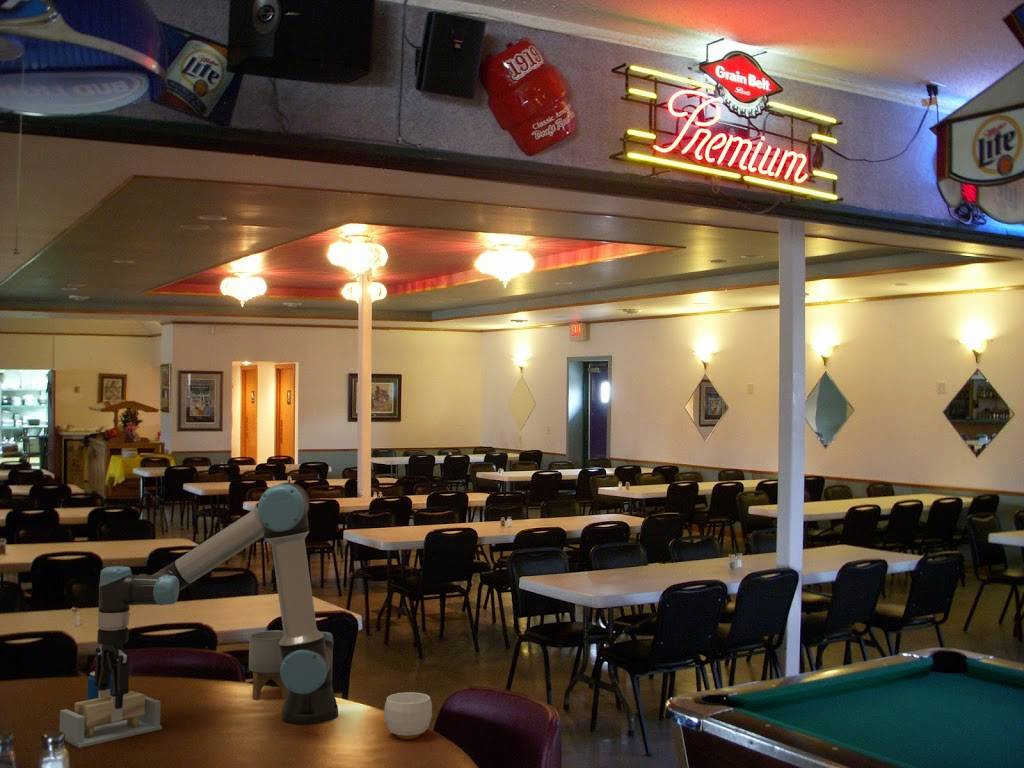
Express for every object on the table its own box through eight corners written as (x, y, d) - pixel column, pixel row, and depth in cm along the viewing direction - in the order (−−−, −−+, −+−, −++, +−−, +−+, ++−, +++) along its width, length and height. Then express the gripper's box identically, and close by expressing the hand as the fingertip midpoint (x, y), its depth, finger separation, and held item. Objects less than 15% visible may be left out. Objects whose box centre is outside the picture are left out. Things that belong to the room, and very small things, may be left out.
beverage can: (117, 715, 282) (118, 671, 283) (101, 721, 276) (102, 676, 276) (98, 713, 284) (99, 669, 285) (81, 719, 278) (82, 674, 279)
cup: (412, 745, 258) (412, 706, 259) (374, 737, 265) (374, 699, 265) (441, 733, 269) (441, 696, 269) (403, 726, 275) (404, 689, 276)
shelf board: (144, 714, 270) (145, 694, 270) (86, 727, 258) (87, 707, 258) (131, 710, 274) (132, 690, 274) (74, 722, 261) (74, 702, 262)
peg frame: (161, 729, 270) (162, 702, 270) (79, 747, 253) (80, 718, 254) (138, 720, 278) (139, 693, 278) (57, 737, 261) (58, 709, 262)
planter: (270, 703, 296) (271, 640, 297) (238, 696, 303) (240, 635, 304) (302, 693, 307) (303, 633, 308) (270, 687, 314) (272, 628, 315)
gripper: (145, 630, 263) (142, 722, 262) (109, 620, 276) (106, 708, 275) (117, 634, 258) (114, 728, 257) (81, 624, 270) (78, 713, 269)
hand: (109, 717), depth 266 cm, fingers closed on shelf board, 6 cm apart
